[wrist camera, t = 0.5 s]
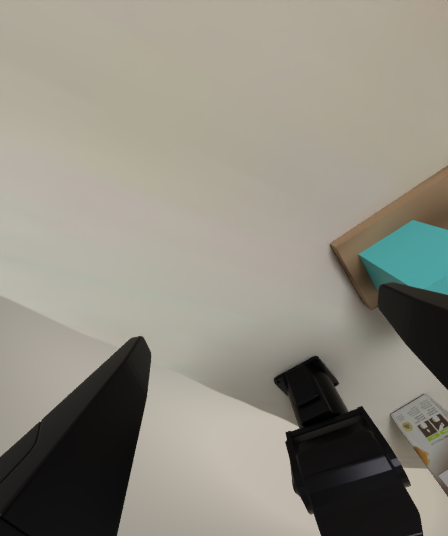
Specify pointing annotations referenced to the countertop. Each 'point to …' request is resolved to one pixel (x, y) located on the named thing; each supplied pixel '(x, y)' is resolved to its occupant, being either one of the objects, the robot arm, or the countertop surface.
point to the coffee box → (427, 434)
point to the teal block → (410, 258)
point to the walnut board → (391, 229)
